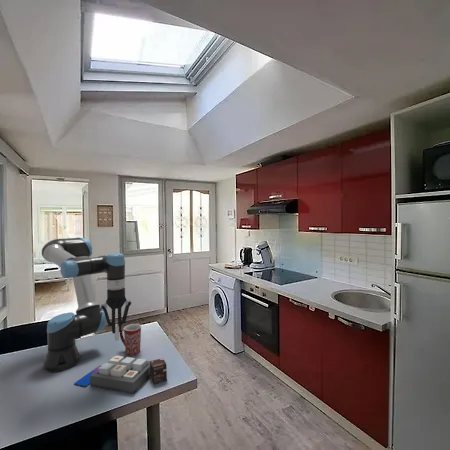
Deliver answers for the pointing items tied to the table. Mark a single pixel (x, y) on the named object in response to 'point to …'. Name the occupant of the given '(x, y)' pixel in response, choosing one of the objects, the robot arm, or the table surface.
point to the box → (158, 371)
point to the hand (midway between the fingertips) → (116, 339)
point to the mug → (131, 338)
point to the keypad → (120, 381)
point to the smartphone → (86, 379)
